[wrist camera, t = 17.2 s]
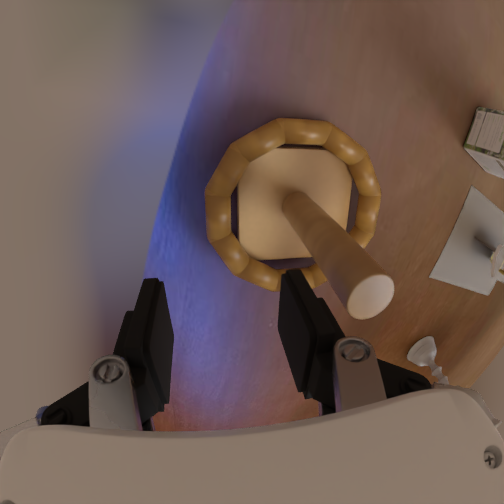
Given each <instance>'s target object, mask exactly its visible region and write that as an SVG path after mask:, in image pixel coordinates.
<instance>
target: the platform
mask: <svg viewBox="0 0 504 504" xmlns="http://www.w3.org/2000/svg"><path fill="white" fill-rule="evenodd" d="M503 268H504V213H503V212H502V211H501V210H500V209H499V208H498V207H496V206H495V205H494V204H493V203H492V202H491V201H490V200H489V199H487V198H486V197H485V196H484V195H483V194H481V193H480V192H479V191H478V190H477V189H475V188H474V187H473V186H471V188H470V191H469V193H468V196H467V199H466V201H465V203H464V206H463V208H462V211H461V213H460V215H459V218H458V220H457V222H456V224H455V226H454V229H453V231H452V233H451V235H450V237H449V239H448V241H447V243H446V245H445V247H444V249H443V251H442V253H441V255H440V257H439V259H438V261H437V263H436V265H435V267H434V269H433V270H432V272H431V274H430V276H429V277H430V278H434V279H437V280H440V281H444V282H447V283H450V284H453V285H456V286H460V287H463V288H466V289H469V290H472V291H475V292H479V293H482V294H485V295H489V294H490V292H491V290H492V288H493V287H494V285H495V283H496V281H497V280H498V281H500V282H503V283H504V271H503Z"/></svg>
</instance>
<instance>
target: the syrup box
mask: <svg viewBox="0 0 504 504" xmlns="http://www.w3.org/2000/svg"><path fill="white" fill-rule="evenodd" d="M464 149H465V150H466V151H467V152H468V153H469V154H470V155H471V156H472V157H473V159H474V160H475V161H476V162H477V163H478V164H479V165H480V166H481V167H482V168H483V169H484V171H486V172H487V173H490V174H493V175H495V176H498V177H501V178H503V179H504V111H500V110H494V109H489V108H483V107H477V109H476V112H475V116H474V119H473V122H472V125H471V127H470V130H469V133H468V136H467V138H466V141H465V144H464Z"/></svg>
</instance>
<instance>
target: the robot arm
mask: <svg viewBox="0 0 504 504" xmlns="http://www.w3.org/2000/svg"><path fill="white" fill-rule="evenodd" d="M278 331H279V335H280V338H281V341H282V344H283V347H284V350H285V353H286V356H287V359H288V362H289V365H290V368H291V372H292V375H293V378H294V381H295V384H296V387H297V390H298V392H303V394H304V397H305V399H309V398H313V399H315V400H317V401H319V417H314V418H309V419H304V420H298V421H292V422H286V423H280V424H273V425H266V426H258V427H249V428H240V429H228V430H213V431H188V432H158V431H155V427H154V423H153V418H152V416H154V415H155V414H156V413H158V411H159V412H164V404H168V403H169V397H170V381H171V367H172V354H173V343H174V334H173V328H172V324H171V319H170V314H169V309H168V304H167V298H166V293H165V287H164V283H163V281H159V280H158V278H147V279H144V280H143V283H142V286H141V289H140V293H139V296H138V299H137V302H136V306H135V309H134V311H127V312H126V314H125V316H124V320H123V323H122V326H121V329H120V332H119V335H118V339H117V342H116V345H115V349H114V352H113V355H107V356H103V357H101V358H99V359H97V360H96V361H95V362H94V363H93V364H92V365H91V367H90V370H89V381H88V382H87V383H85V384H83V385H82V386H80V387H79V388H77V389H76V390H74V391H72V392H71V393H69V394H67V395H66V396H64V397H63V398H61V399H59V400H58V401H56V402H54V403H53V404H51V405H50V406H48V407H47V408H46V409H45V410H44V412H43V413H42V416H41V419H39V420H38V419H37V417H35V418H33V419H30V420H28V421H26V422H23V423H21V424H18V425H16V426H14V427H11V428H9V429H6V430H4V431H2V432H0V504H504V440H503V439H502V437H501V435H500V434H499V432H498V431H497V429H496V427H495V426H494V424H493V423H492V421H491V420H490V419H489V417H488V416H487V414H486V413H485V412H484V401H483V398H482V397H481V395H480V394H479V393H478V392H477V391H475V390H472V389H468V388H462V387H457V386H452V385H447V384H442V383H437V382H434V383H433V385H431V384H430V382H429V381H428V380H427V379H426V378H425V377H424V376H422V375H420V374H418V373H415V372H413V371H410V370H407V369H404V368H401V367H399V366H396V365H393V364H390V363H388V362H385V361H382V360H380V359H377V358H376V355H375V351H374V349H373V347H372V345H371V344H370V343H369V342H368V341H366V340H365V339H363V338H360V337H355V336H348V337H345V335H344V333H343V332H342V330H341V328H340V326H339V325H338V323H337V321H336V319H335V318H334V316H333V314H332V313H331V311H330V309H329V307H328V306H327V304H326V302H325V301H324V299H323V298H317V297H316V295H315V294H314V292H313V290H312V288H311V287H310V285H309V283H308V281H307V279H306V278H305V276H304V274H303V272H302V271H301V269H290V270H286V273H284V274H282V275H281V286H280V301H279V315H278Z"/></svg>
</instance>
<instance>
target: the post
mask: <svg viewBox="0 0 504 504" xmlns="http://www.w3.org/2000/svg"><path fill="white" fill-rule="evenodd" d="M351 186H352V174H351V172H350V169H349V167H348V165H347V164H346V163H345V162H344V161H342V160H341V159H339V158H338V157H337V156H335V155H334V154H333V153H331V152H330V151H328V150H327V149H325V148H314V147H285V146H279V147H277V148H275V149H273V150H272V151H270V152H268V153H266V154H264V155H263V156H261V157H259V158H257V159H255V160H254V161H252V162H250V164H249V165H248V167H247V169H246V170H245V172H244V174H243V175H242V177H241V179H240V180H239V182H238V184H237V226H238V241H239V243H240V244H241V246H242V247H243V249H244V250H245V252H246V253H247V255H248V256H249V257H251V258H253V259H255V260H271V259H287V258H303V257H313V259H314V260H315V262H316V263H317V265H318V266H319V268H320V269H321V271H322V272H323V274H324V276H325V277H326V279H327V280H328V282H329V283H330V285H331V286H332V288H333V290H334V291H335V293H336V294H337V296H338V298H339V299H340V301H341V302H342V304H343V306H344V307H345V309H346V310H347V312H348V314H349V315H350V316H352V317H354V318H356V319H368V318H371V317H373V316H375V315H377V314H379V313H380V312H381V311H383V310H384V309H385V308H386V307H387V305H388V304H389V303H390V301H391V299H392V297H393V294H394V282H393V280H392V278H391V277H390V276H389V275H388V274H387V273H386V271H385V270H384V269H383V268H382V267H381V266H380V265H379V264H378V263H377V262H376V261H375V260H374V259H373V258H372V257H371V256H370V255H369V254H368V253H367V252H366V251H365V250H364V249H363V248H362V247H361V246H360V245H359V244H358V243H357V242H356V241H355V240H354V239H353V238H352V237H351V236H350V235H349V234H348V233H347V232H346V227H347V220H348V212H349V204H350V195H351Z"/></svg>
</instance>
